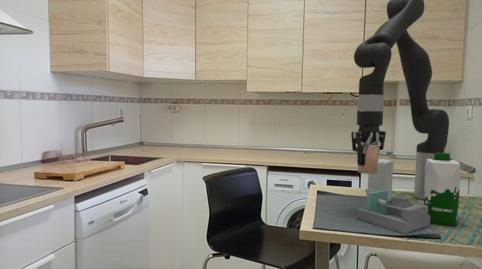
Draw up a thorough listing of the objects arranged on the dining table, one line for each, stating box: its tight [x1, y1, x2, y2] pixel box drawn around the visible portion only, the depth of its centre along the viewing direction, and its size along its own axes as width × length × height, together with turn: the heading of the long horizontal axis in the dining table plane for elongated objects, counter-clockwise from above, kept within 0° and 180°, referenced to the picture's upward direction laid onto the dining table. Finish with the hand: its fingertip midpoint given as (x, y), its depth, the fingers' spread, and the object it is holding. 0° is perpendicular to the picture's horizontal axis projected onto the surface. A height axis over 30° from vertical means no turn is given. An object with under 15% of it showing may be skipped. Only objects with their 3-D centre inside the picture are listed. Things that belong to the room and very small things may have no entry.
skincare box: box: [366, 158, 395, 203], centre depth 127 cm, size 8×6×15 cm
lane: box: [356, 203, 431, 235], centre depth 103 cm, size 12×15×6 cm
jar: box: [357, 144, 379, 175], centre depth 110 cm, size 6×6×9 cm
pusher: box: [365, 190, 389, 214], centre depth 106 cm, size 9×3×7 cm, turn 124°
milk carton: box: [423, 152, 462, 227], centre depth 104 cm, size 9×9×20 cm
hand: (367, 164), depth 110 cm, fingers closed on jar, 5 cm apart
